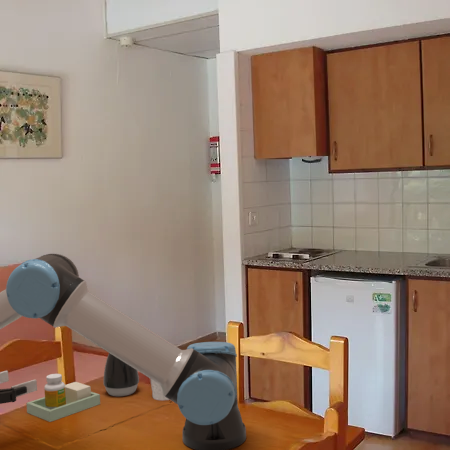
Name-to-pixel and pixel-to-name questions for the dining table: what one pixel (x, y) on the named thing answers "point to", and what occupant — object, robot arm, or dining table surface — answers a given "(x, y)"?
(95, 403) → the tray
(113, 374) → the pump dispenser
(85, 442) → the dining table surface
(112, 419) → the dining table surface
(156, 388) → the white cup
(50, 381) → the supplement bottle
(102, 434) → the dining table surface
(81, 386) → the off-white upright cuboid
